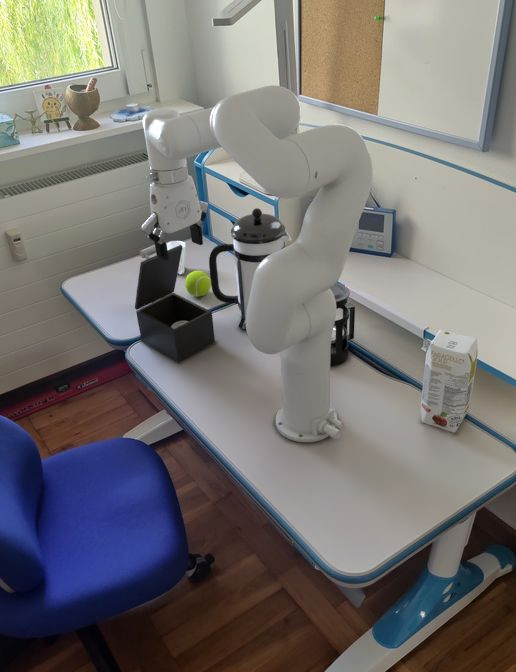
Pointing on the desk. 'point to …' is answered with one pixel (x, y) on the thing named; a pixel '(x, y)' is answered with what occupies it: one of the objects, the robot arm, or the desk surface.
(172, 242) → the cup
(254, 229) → the coffee press
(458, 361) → the juice carton
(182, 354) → the hinged black storage box
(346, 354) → the french press
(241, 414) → the desk surface
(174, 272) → the lid
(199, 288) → the tennis ball
